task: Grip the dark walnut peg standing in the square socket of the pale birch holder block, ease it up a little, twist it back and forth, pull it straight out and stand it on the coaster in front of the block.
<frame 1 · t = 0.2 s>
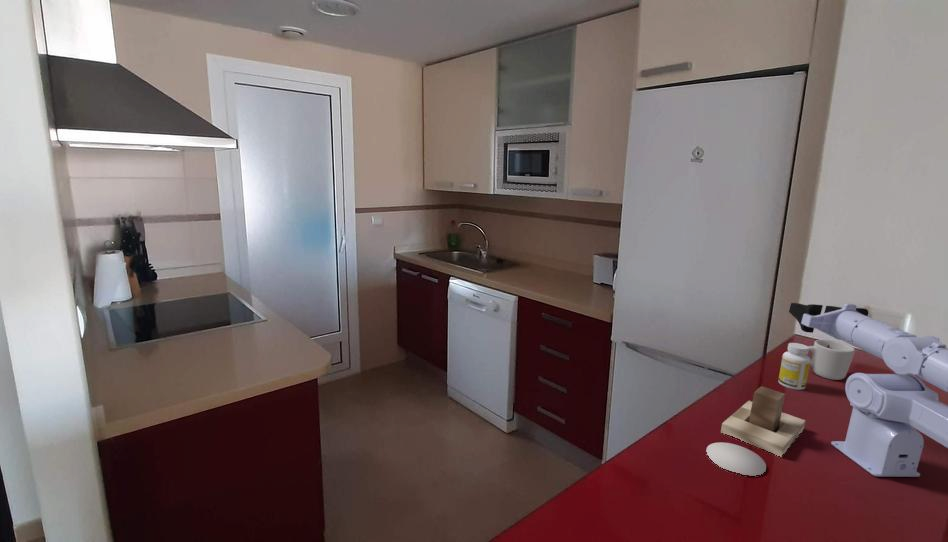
hand: (809, 309, 97), 21 cm above the countertop, tool horizontal, fingers open, 7 cm apart
cup: (821, 375, 116), on the countertop
plug peg: (766, 412, 89), in the holder block
supplement bottle: (791, 385, 110), on the countertop
coaster: (735, 459, 80), on the countertop
holder block: (762, 431, 90), on the countertop
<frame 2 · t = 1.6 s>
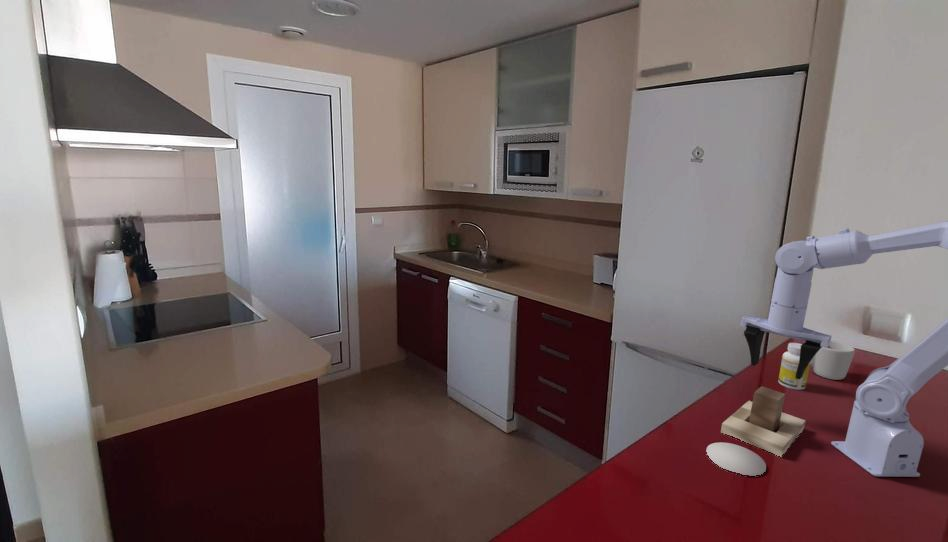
hand: (776, 370, 92), 10 cm above the countertop, tool pointing down, fingers open, 7 cm apart
nothing on the countertop moved.
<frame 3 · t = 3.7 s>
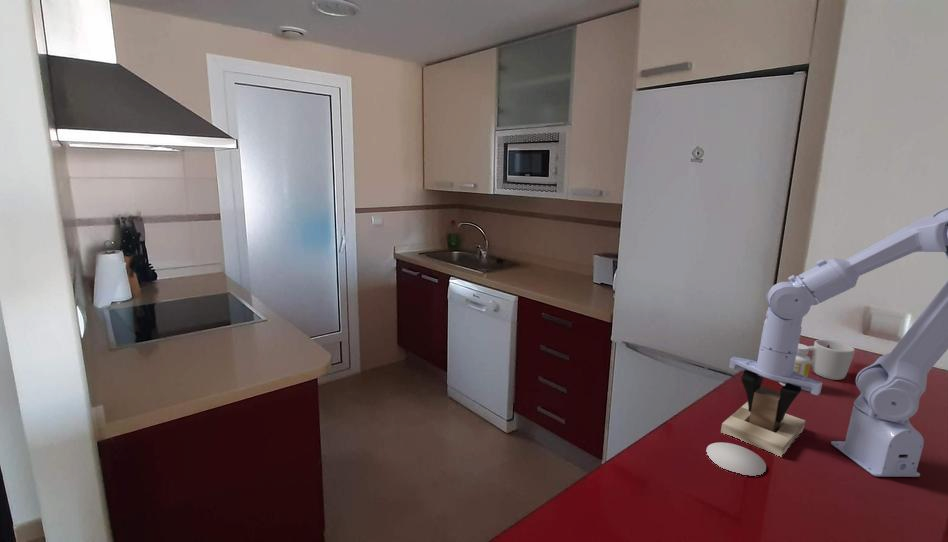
hand: (765, 415, 89), 3 cm above the countertop, tool pointing down, fingers closed on plug peg, 4 cm apart
plug peg: (766, 412, 89), in the holder block, touching gripper
everything else where it was.
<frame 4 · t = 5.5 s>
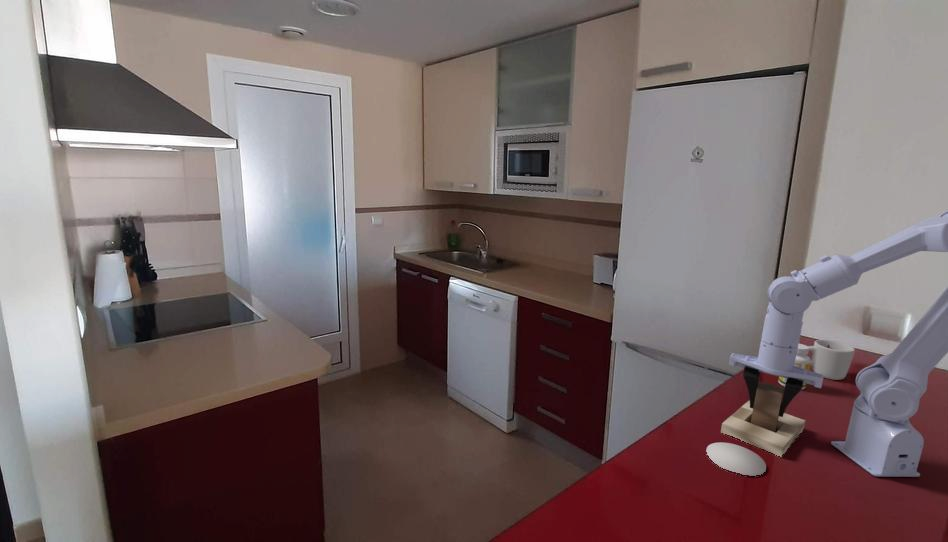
hand: (766, 410, 89), 4 cm above the countertop, tool pointing down, fingers closed on plug peg, 4 cm apart
plug peg: (767, 407, 89), point 5 cm above the countertop, touching gripper
everything else where it was.
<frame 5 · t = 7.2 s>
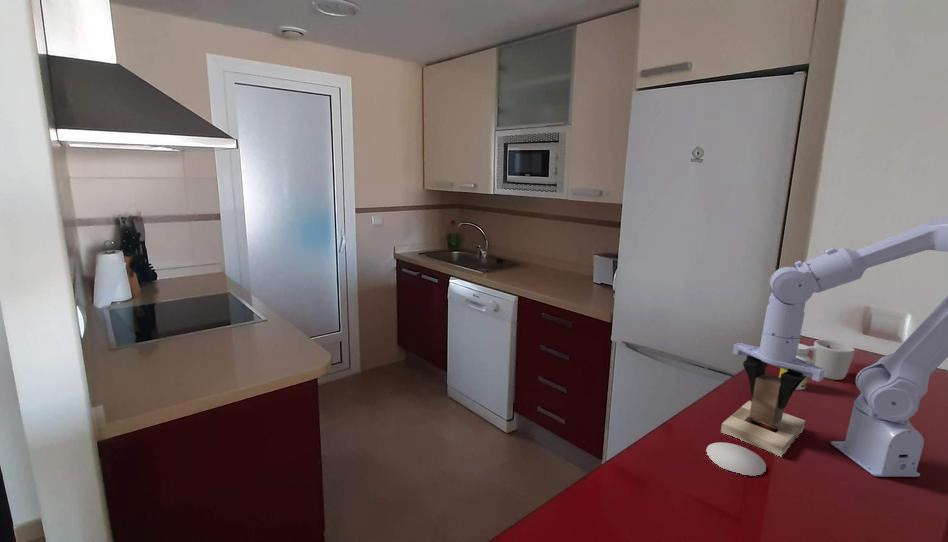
hand: (768, 401, 88), 6 cm above the countertop, tool pointing down, fingers closed on plug peg, 4 cm apart
plug peg: (768, 398, 88), point 7 cm above the countertop, touching gripper
everything else where it was.
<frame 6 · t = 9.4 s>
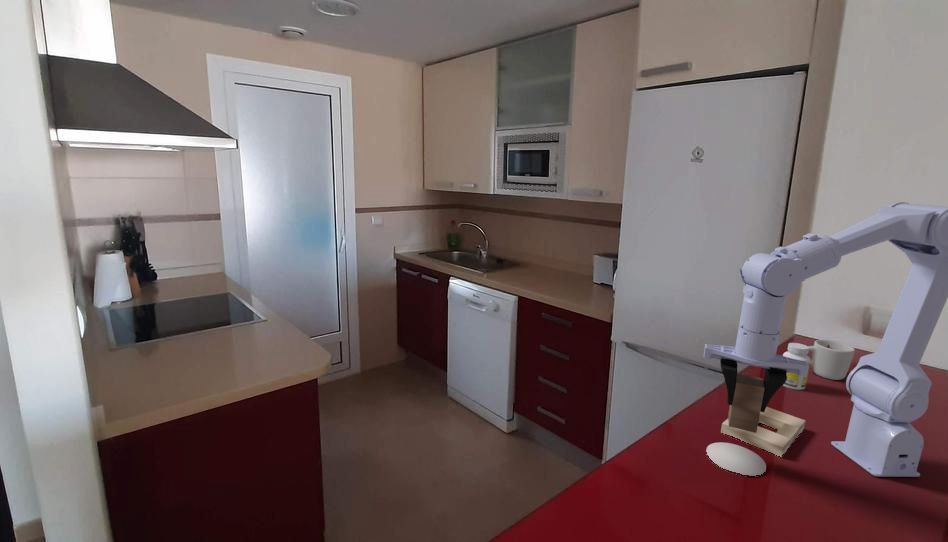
hand: (745, 405, 79), 10 cm above the countertop, tool pointing down, fingers closed on plug peg, 4 cm apart
plug peg: (745, 402, 79), point 10 cm above the countertop, touching gripper
everything else where it was.
when the fingers open (5 cm above the countertop, at t = 11.0 s): plug peg drops 1 cm, resting on coaster.
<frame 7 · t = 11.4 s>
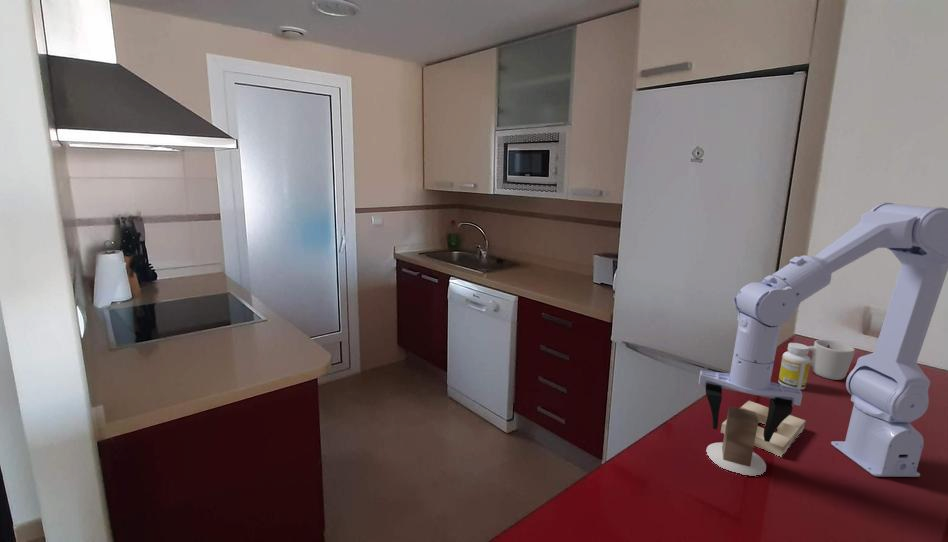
hand: (740, 432, 79), 5 cm above the countertop, tool pointing down, fingers open, 7 cm apart
plug peg: (739, 435, 80), on the coaster
everything else where it was.
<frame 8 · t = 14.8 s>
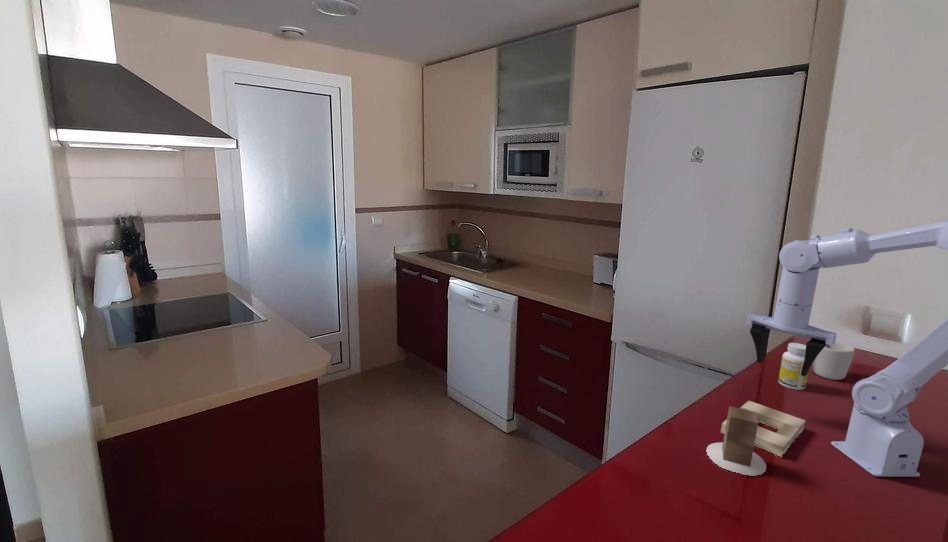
hand: (781, 367, 93), 10 cm above the countertop, tool pointing down, fingers open, 7 cm apart
nothing on the countertop moved.
at the end: plug peg 0.4 cm from the target spot, resting on coaster; plug peg tilted 0°; the gripper is holding nothing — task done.
